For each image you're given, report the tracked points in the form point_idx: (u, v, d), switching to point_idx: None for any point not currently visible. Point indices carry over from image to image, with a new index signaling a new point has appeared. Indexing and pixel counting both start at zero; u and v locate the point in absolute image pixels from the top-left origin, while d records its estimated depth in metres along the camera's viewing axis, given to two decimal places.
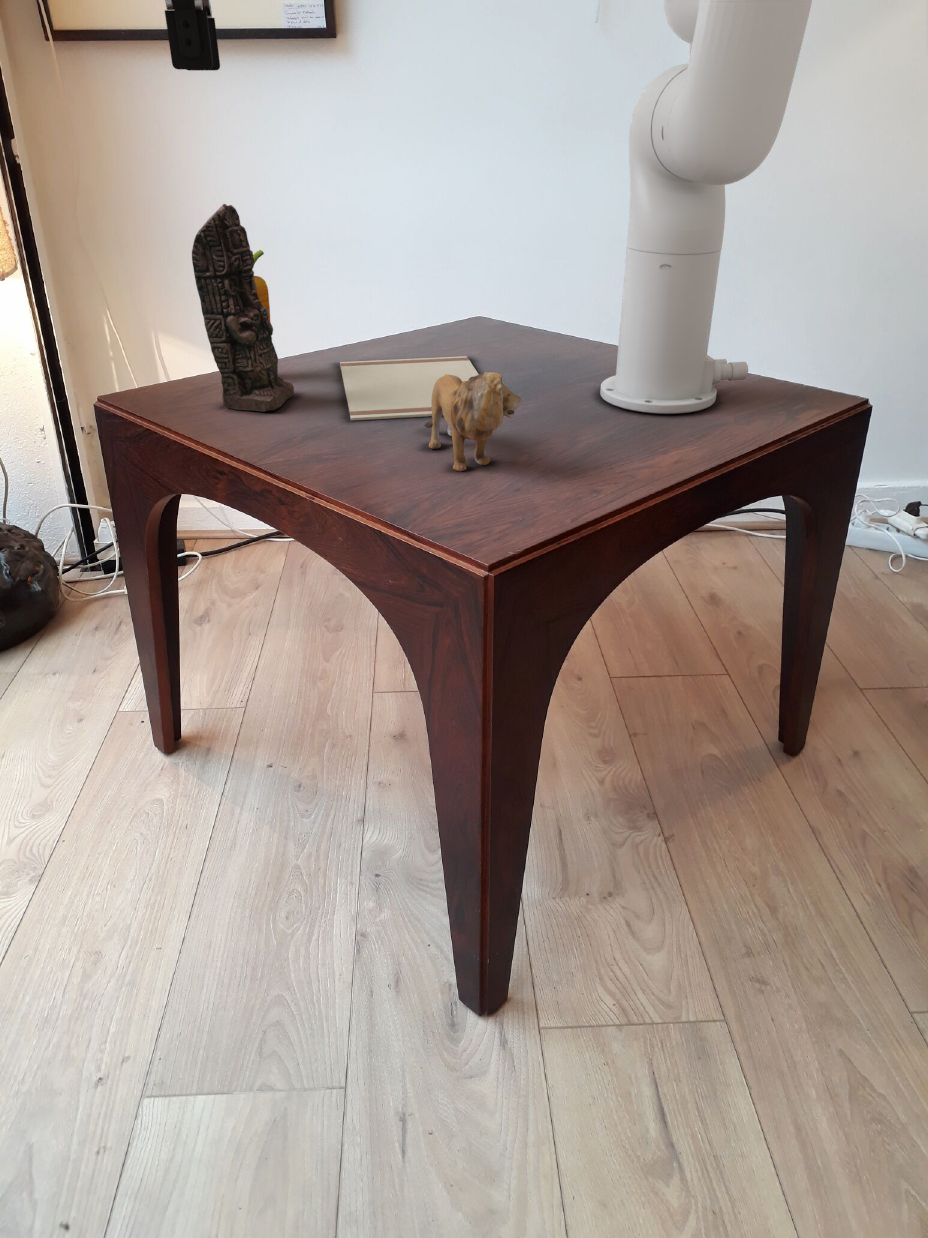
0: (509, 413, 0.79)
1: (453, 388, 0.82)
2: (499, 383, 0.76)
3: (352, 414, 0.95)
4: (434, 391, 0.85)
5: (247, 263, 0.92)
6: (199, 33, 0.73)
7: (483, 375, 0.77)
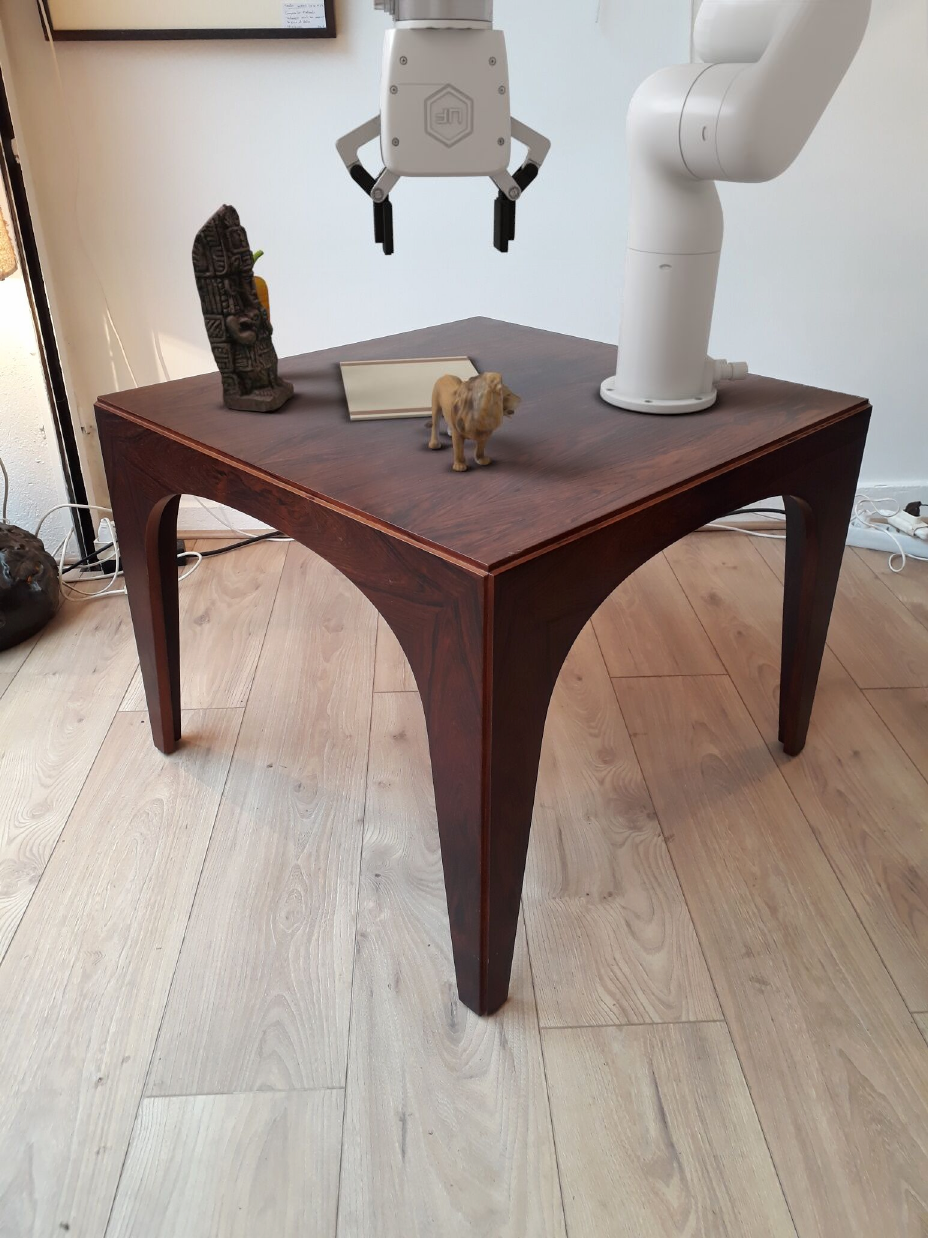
0: (509, 413, 0.79)
1: (453, 388, 0.82)
2: (499, 383, 0.76)
3: (352, 414, 0.95)
4: (434, 391, 0.85)
5: (247, 263, 0.92)
6: (382, 222, 0.74)
7: (483, 375, 0.77)
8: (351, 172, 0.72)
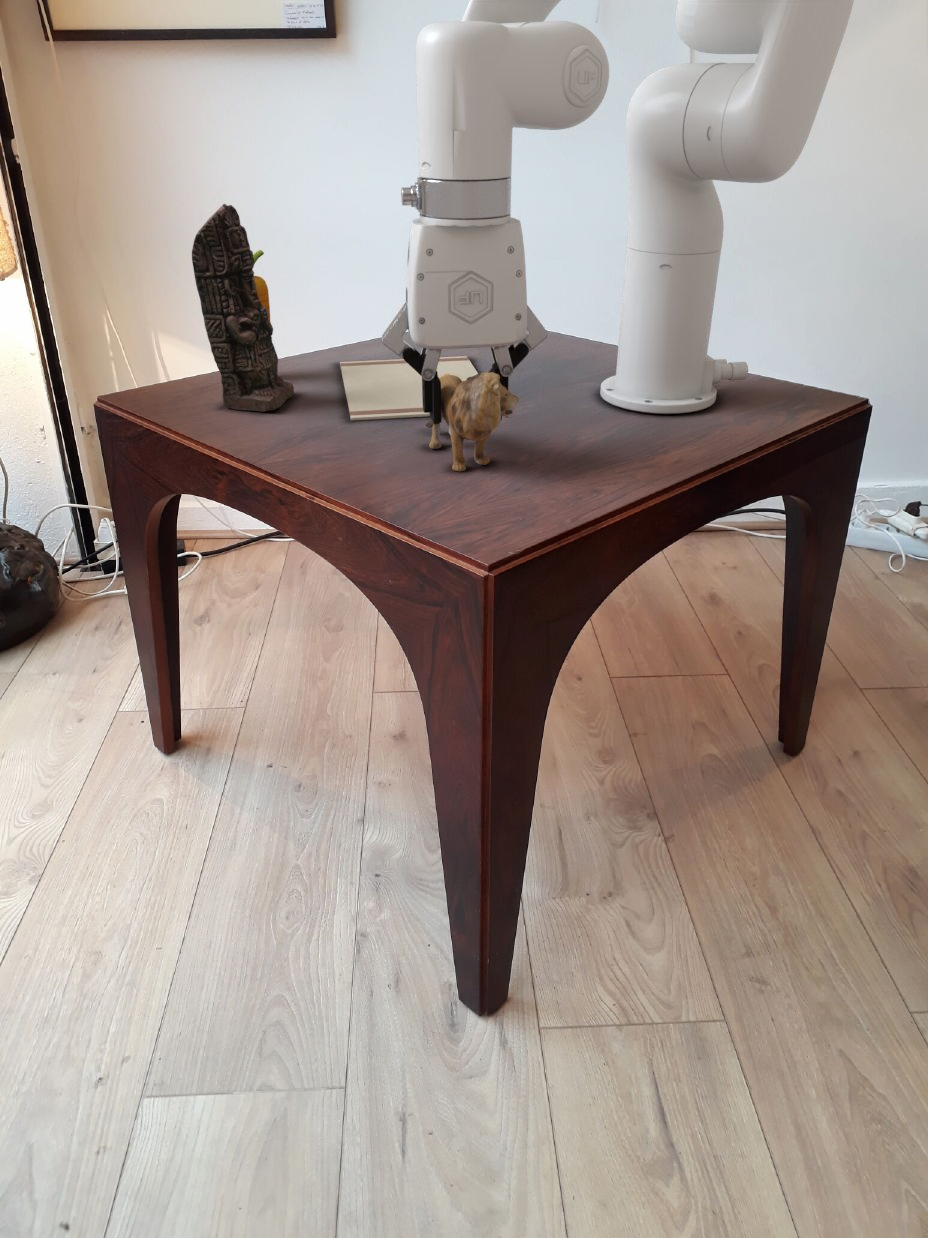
0: (507, 413, 0.78)
1: (452, 388, 0.82)
2: (496, 383, 0.76)
3: (352, 414, 0.95)
4: None
5: (247, 263, 0.92)
6: (431, 396, 0.81)
7: (480, 375, 0.77)
8: (404, 355, 0.79)
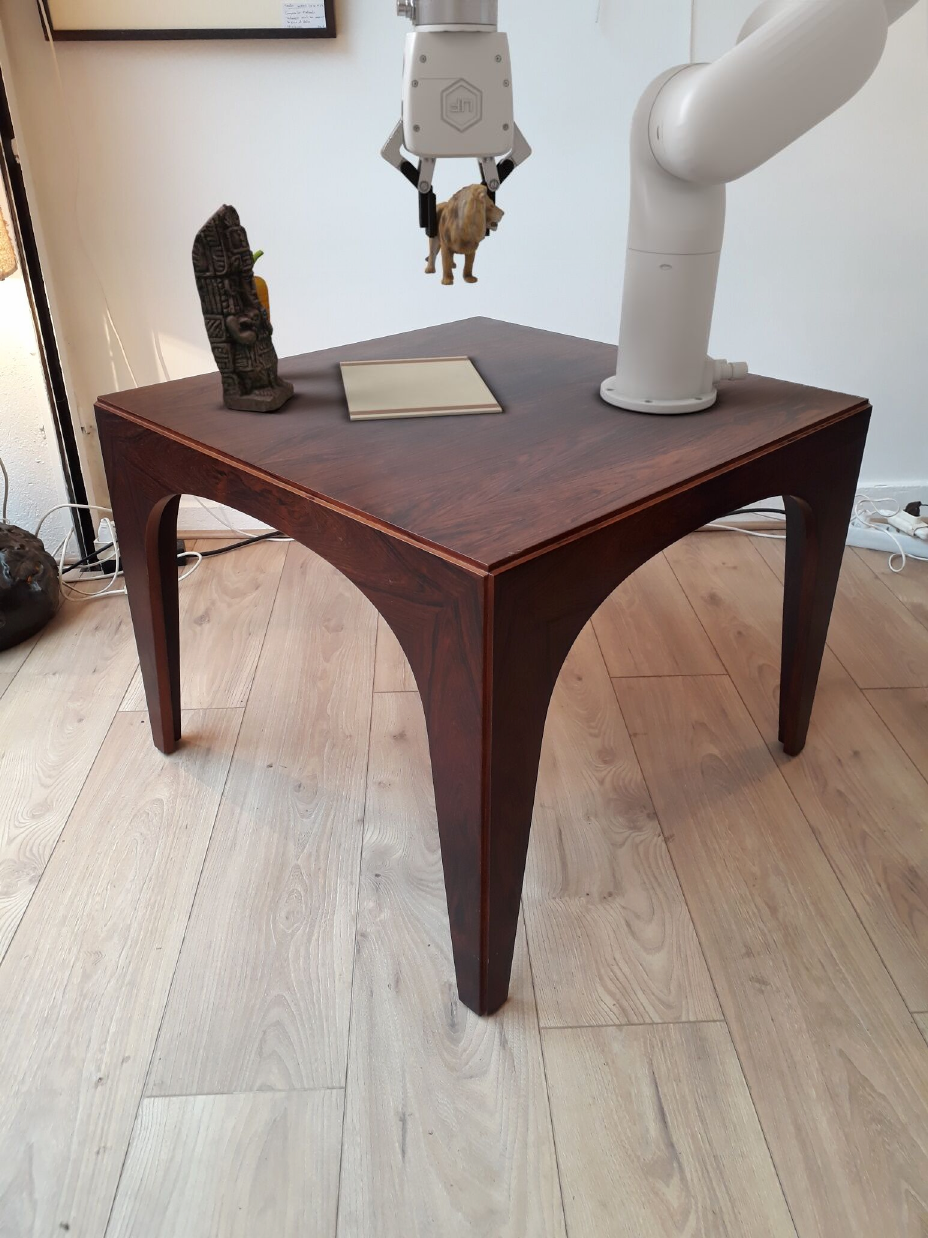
0: (492, 225, 0.85)
1: None
2: (482, 192, 0.82)
3: (352, 414, 0.95)
4: None
5: (247, 263, 0.92)
6: (427, 210, 0.87)
7: (469, 185, 0.83)
8: (401, 167, 0.85)
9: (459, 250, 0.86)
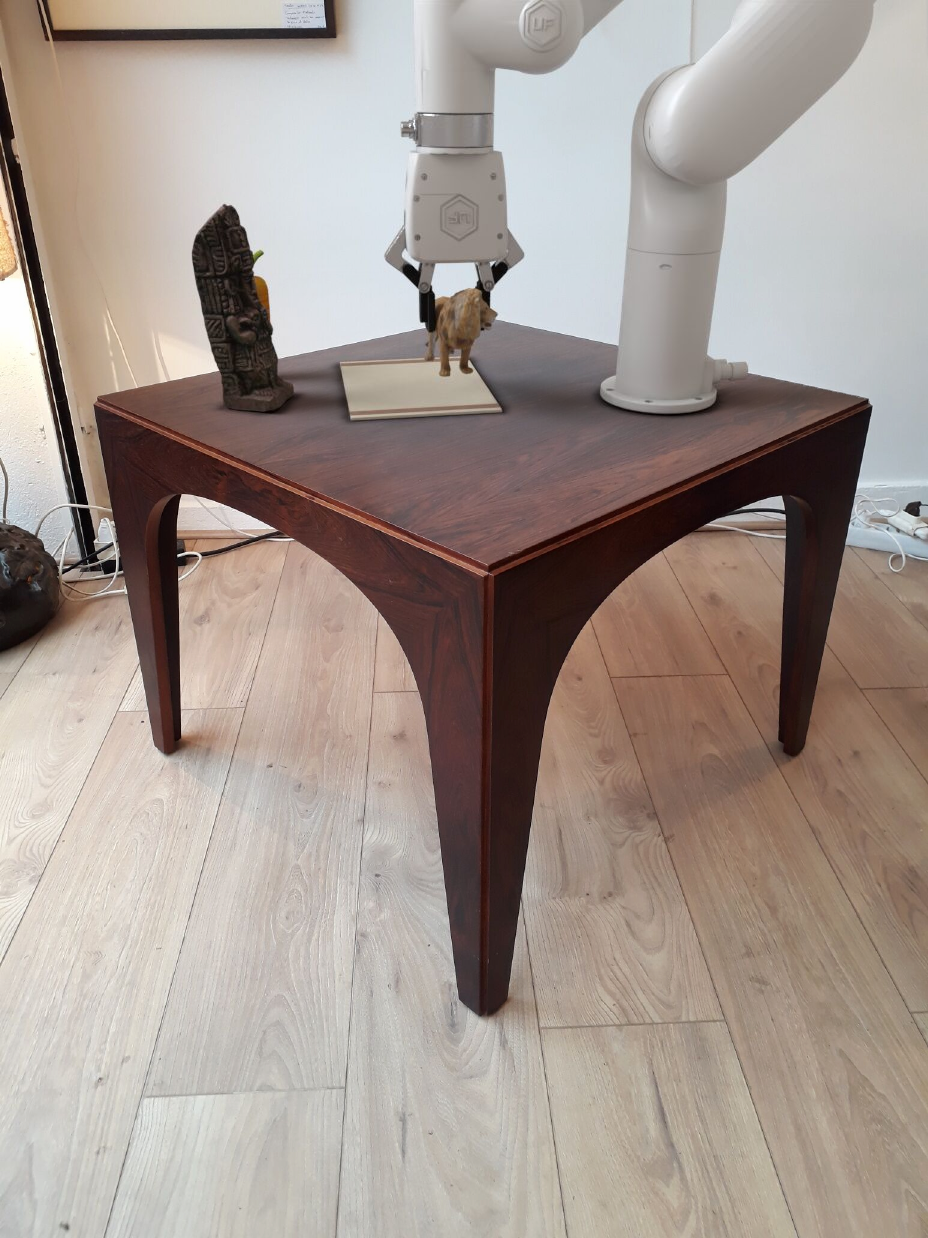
0: (486, 325, 0.91)
1: (444, 306, 0.96)
2: (477, 297, 0.89)
3: (352, 414, 0.95)
4: None
5: (247, 263, 0.92)
6: (427, 307, 0.94)
7: (465, 290, 0.90)
8: (403, 270, 0.92)
9: (455, 347, 0.93)
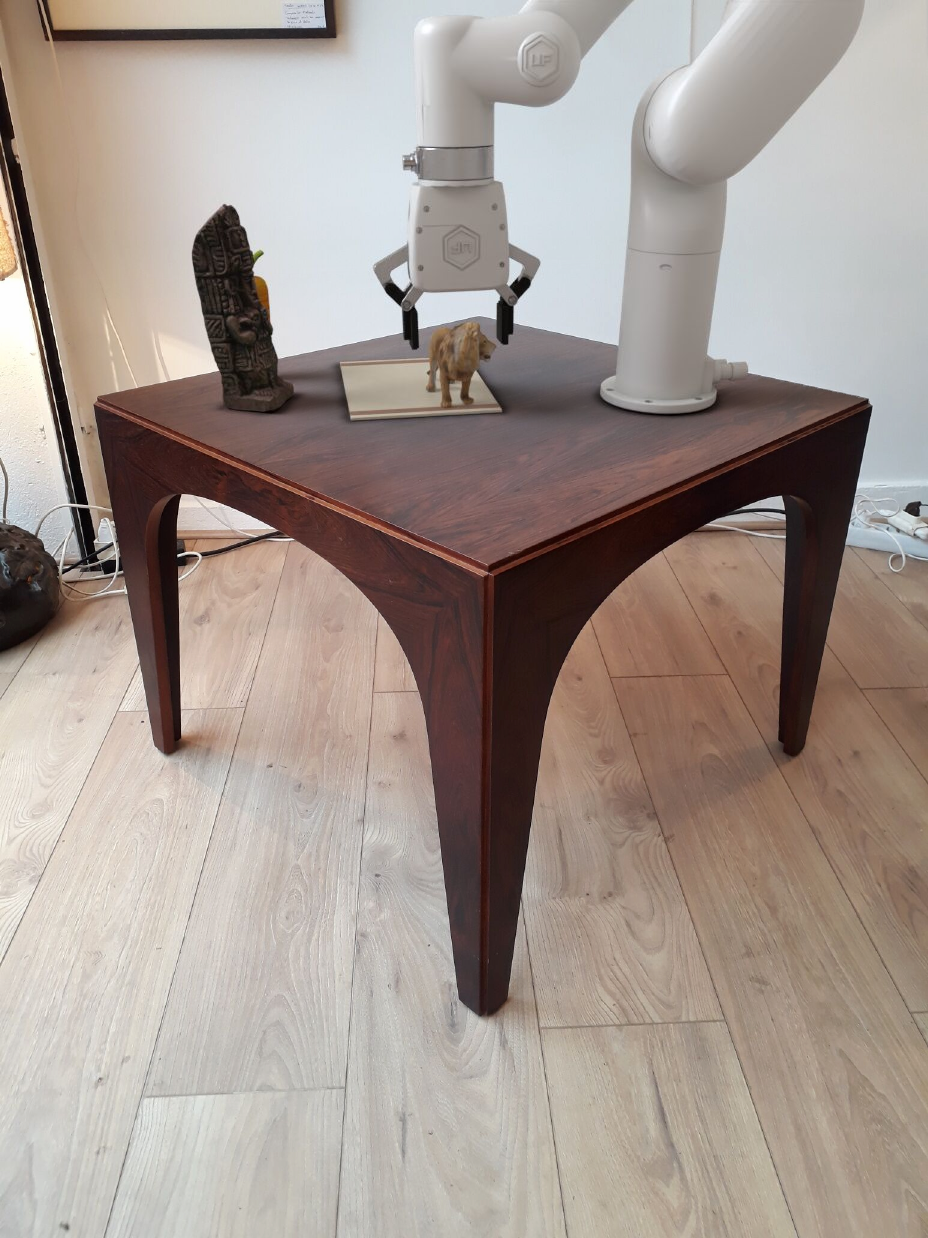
0: (485, 357, 0.93)
1: None
2: (476, 331, 0.91)
3: (352, 414, 0.95)
4: (431, 341, 1.00)
5: (247, 263, 0.92)
6: (410, 325, 0.95)
7: (463, 324, 0.92)
8: (386, 289, 0.93)
9: (456, 379, 0.94)
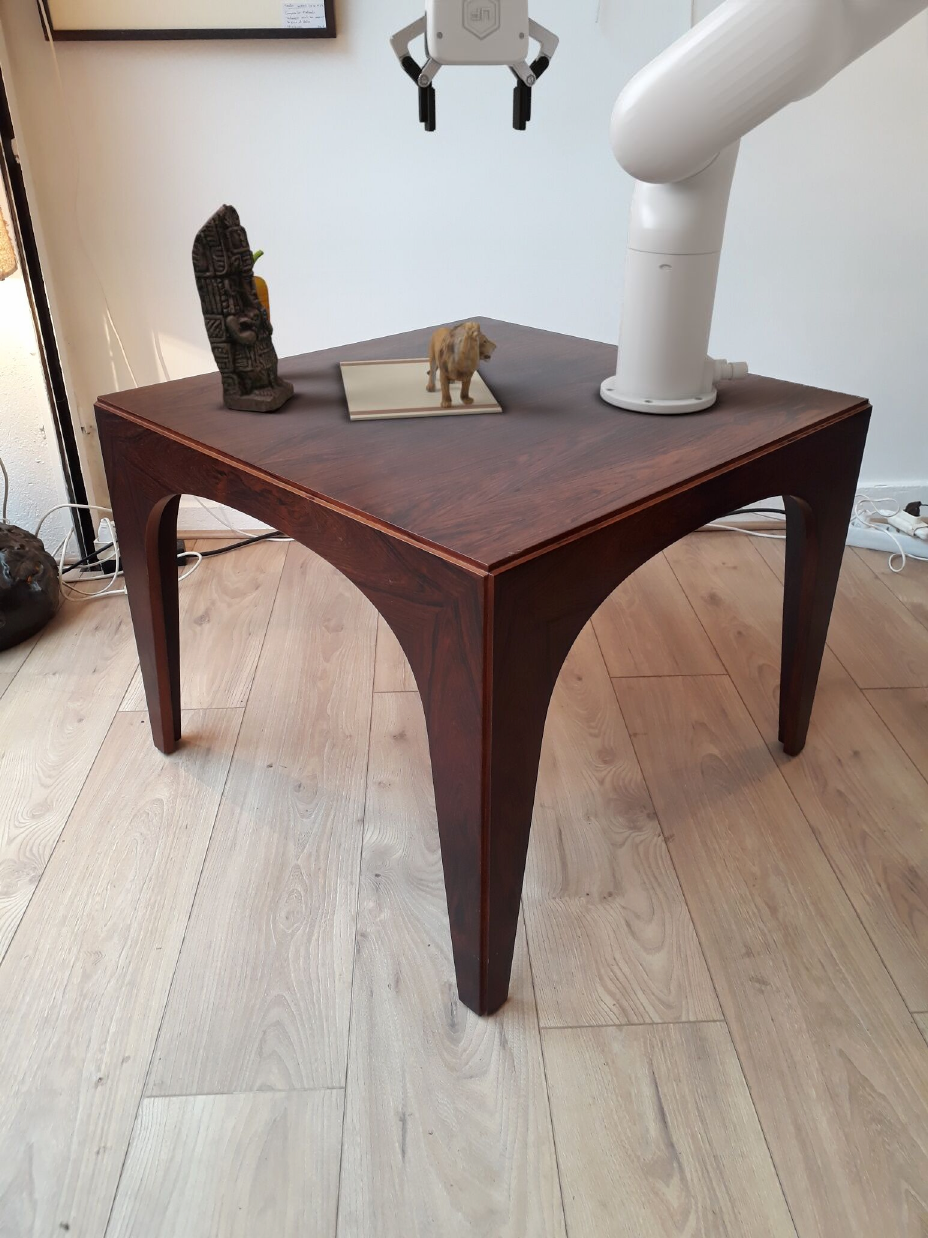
0: (485, 357, 0.93)
1: None
2: (476, 331, 0.91)
3: (352, 414, 0.95)
4: (431, 341, 1.00)
5: (247, 263, 0.92)
6: (426, 104, 0.93)
7: (463, 324, 0.92)
8: (403, 62, 0.91)
9: (456, 379, 0.94)
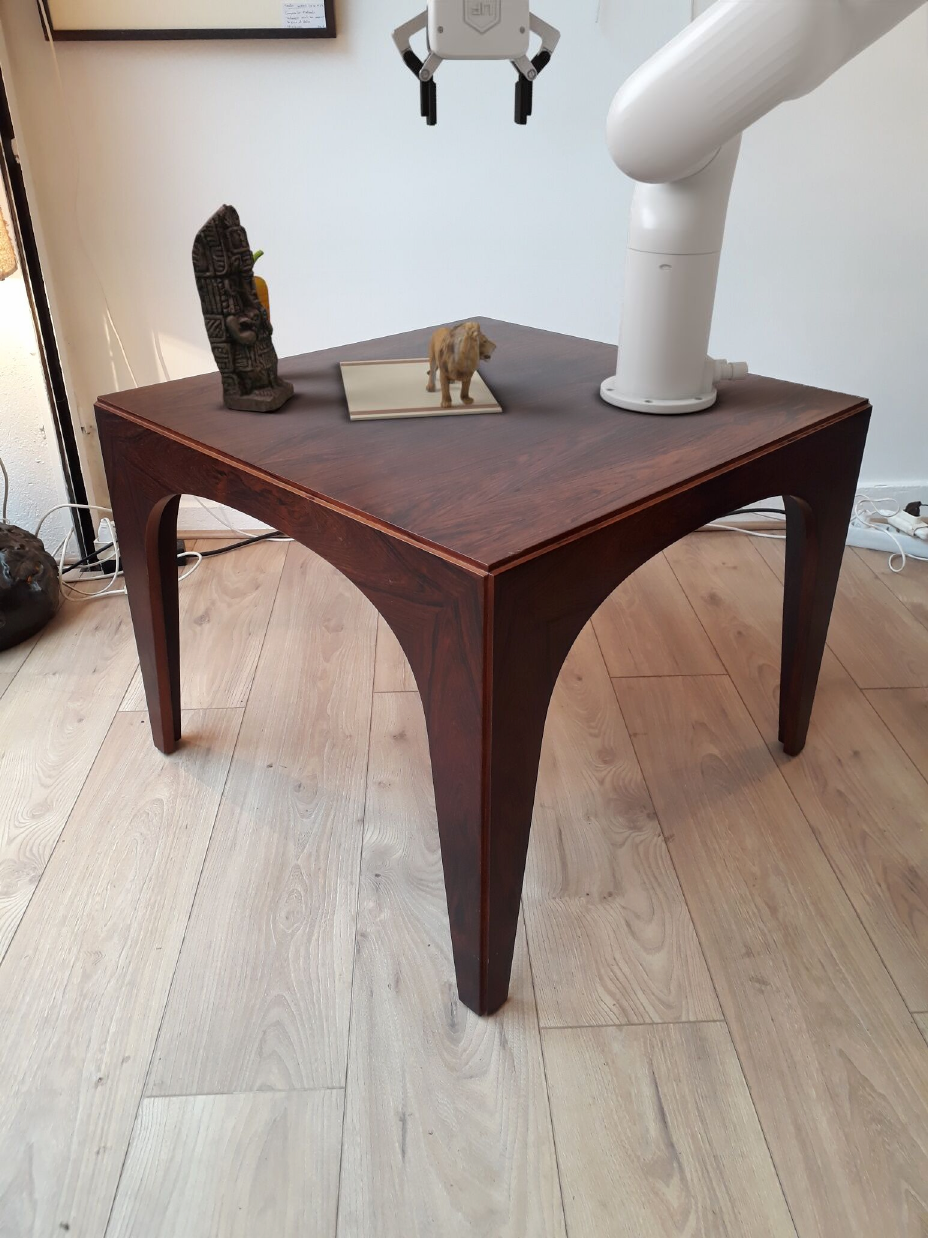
0: (485, 357, 0.93)
1: None
2: (476, 331, 0.91)
3: (352, 414, 0.95)
4: (431, 341, 1.00)
5: (247, 263, 0.92)
6: (428, 98, 0.94)
7: (463, 324, 0.92)
8: (404, 56, 0.92)
9: (456, 379, 0.94)
